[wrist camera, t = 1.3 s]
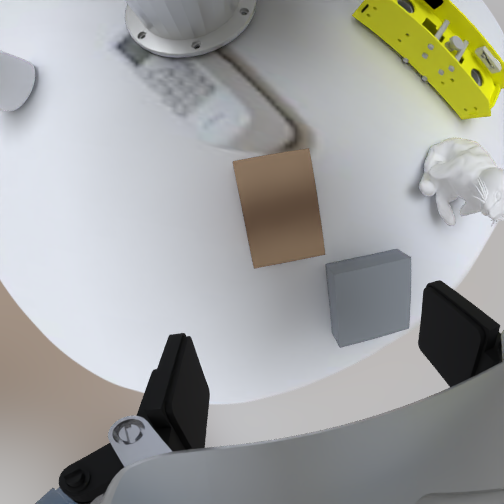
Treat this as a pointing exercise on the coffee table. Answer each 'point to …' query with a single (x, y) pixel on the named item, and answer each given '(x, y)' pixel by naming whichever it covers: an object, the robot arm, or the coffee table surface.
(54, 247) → the coffee table surface
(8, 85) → the beverage can
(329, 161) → the coffee table surface
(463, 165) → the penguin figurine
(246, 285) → the coffee table surface
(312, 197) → the walnut brick
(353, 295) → the plinth
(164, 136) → the coffee table surface
